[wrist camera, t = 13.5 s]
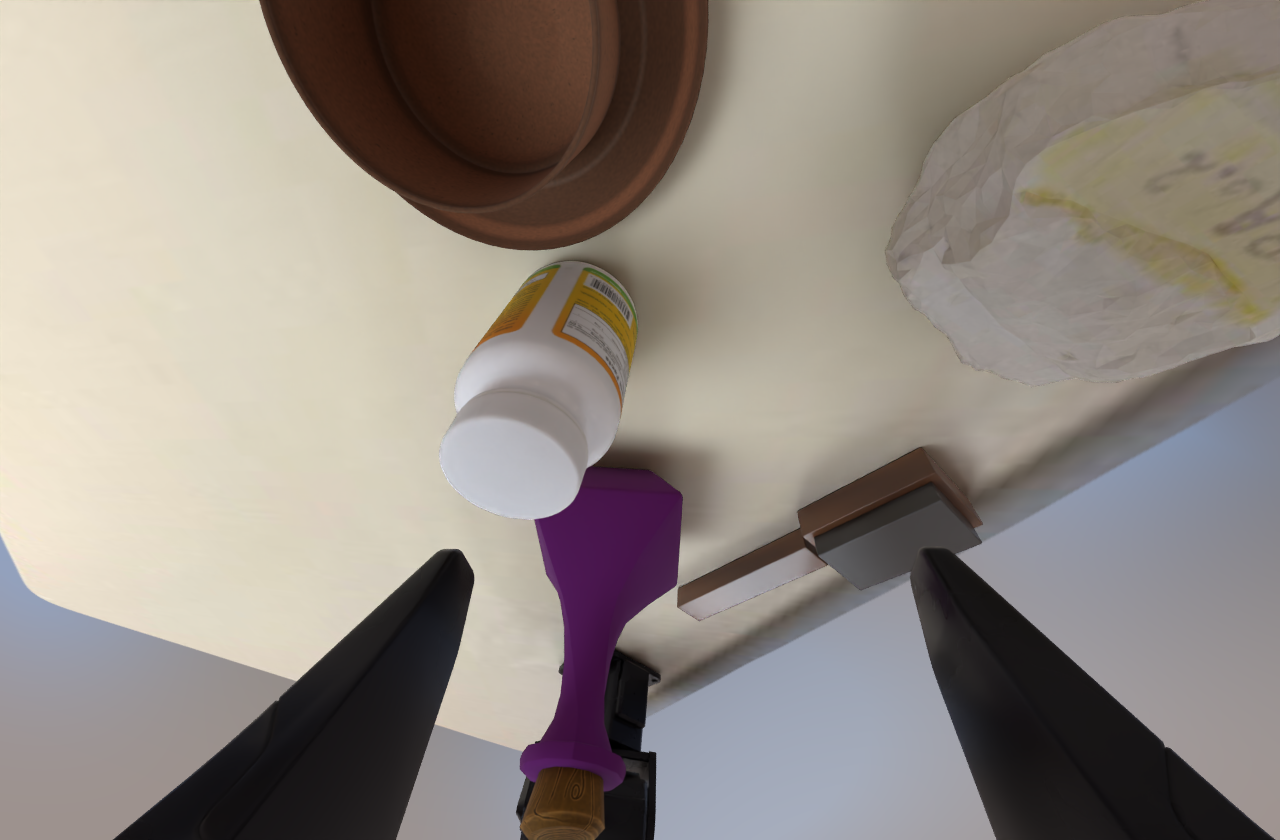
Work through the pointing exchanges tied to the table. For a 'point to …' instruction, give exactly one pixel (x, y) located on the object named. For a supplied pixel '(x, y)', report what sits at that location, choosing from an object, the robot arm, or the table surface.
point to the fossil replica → (1108, 203)
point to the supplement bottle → (542, 393)
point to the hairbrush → (850, 536)
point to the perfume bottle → (596, 635)
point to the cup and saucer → (502, 103)
